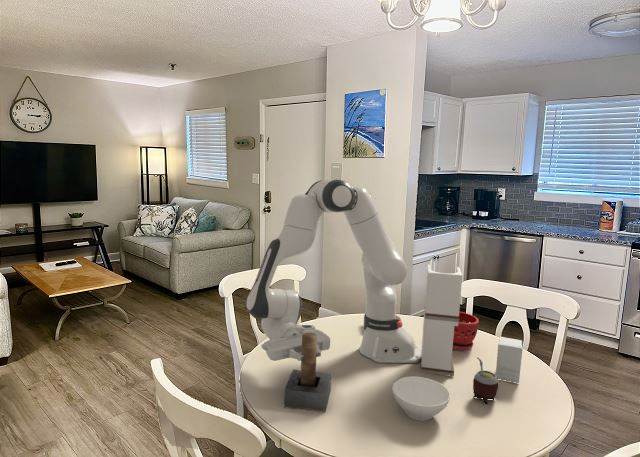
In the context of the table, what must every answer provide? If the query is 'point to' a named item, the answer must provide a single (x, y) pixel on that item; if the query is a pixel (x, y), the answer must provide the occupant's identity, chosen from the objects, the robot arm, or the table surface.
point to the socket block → (308, 392)
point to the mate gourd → (485, 384)
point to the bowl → (420, 397)
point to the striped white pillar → (440, 321)
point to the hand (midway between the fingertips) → (310, 356)
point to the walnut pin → (308, 359)
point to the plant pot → (465, 331)
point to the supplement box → (509, 359)
